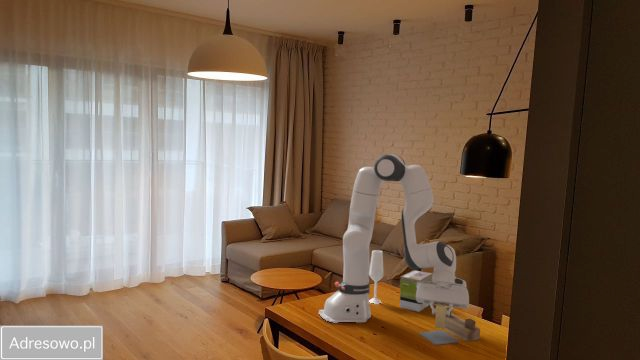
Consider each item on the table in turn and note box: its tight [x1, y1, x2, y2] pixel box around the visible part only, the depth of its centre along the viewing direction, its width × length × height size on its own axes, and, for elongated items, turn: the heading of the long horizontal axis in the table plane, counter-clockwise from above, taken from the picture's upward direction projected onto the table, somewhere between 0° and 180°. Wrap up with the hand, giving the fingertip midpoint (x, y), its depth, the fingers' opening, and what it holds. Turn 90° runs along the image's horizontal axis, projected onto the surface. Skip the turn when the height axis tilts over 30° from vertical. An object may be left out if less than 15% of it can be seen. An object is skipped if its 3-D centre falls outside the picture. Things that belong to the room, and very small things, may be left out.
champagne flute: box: [369, 249, 384, 305], centre depth 215 cm, size 7×7×24 cm
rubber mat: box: [418, 329, 461, 346], centre depth 176 cm, size 11×11×1 cm
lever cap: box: [434, 303, 447, 330], centre depth 177 cm, size 4×4×8 cm
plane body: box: [444, 306, 481, 342], centre depth 183 cm, size 7×18×7 cm, turn 22°
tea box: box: [399, 269, 434, 313], centre depth 212 cm, size 15×10×15 cm, turn 144°
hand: (440, 314), depth 176 cm, fingers closed on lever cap, 4 cm apart
